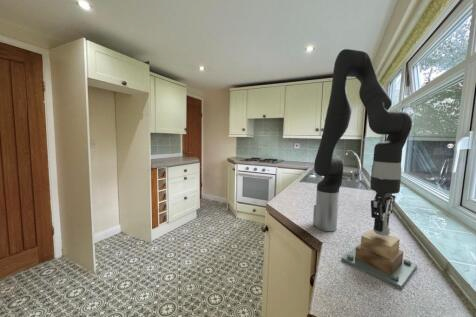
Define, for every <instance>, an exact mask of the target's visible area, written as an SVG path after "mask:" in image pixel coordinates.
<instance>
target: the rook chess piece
mask: <svg viewBox="0 0 476 317" xmlns="http://www.w3.org/2000/svg"><path fill="white" fill-rule="evenodd" d="M382 210H384V209H382ZM388 213H389V211H387V213H385V216H384V223H383V231H382V232H379V231H376V230H374V228H372V230H374V232H375V233H377V234H380V235H389V236H390V234H391V232H390V231H391V229H390V227H389V225H387V218H388V217H389V216H387V214H388ZM377 215H379V214H378V213H377Z"/></svg>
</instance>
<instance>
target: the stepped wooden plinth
mask: <svg viewBox="0 0 476 317" xmlns="http://www.w3.org/2000/svg"><path fill="white" fill-rule="evenodd" d="M360 237H361V239H360V244H358V245H357V246H355V248H356V253H355V259H357V260H359V261H361V262H363V263H365V264H368V265H370V266H372V267H374V268H376V269H379V270H381V271H383V272H385V273H387V274H390V275H391V274H393V273H394V272H395V271H396V270H397V269H398V268H399V266H400V265H401V264H402V261H403V258H404V251H403V250H401V249H399V248H400V238H398V237H395V236H392V235H390V234H389V235H380V234H377V233H375V232H374V230H373V229H370V230H368V231H367V232H366V233H363V234H362V235H361V236H360Z"/></svg>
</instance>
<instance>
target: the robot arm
mask: <svg viewBox="0 0 476 317" xmlns="http://www.w3.org/2000/svg"><path fill="white" fill-rule="evenodd" d="M334 61H335V62H334V65H333V73H332V83H331V89H330V96H329V101H328V105H327V106H328V107H327V110H326V115H325V119H324V126H323V130H322V133H321V134H322V135H321V137H320V138H321V139H320V143H319V147H318V149H317V153H316V156H315V159H314V164H313V167H314V172H315V173H316V175H317V176H319V177H323V179H322V180H321V181H319V182H318V183H317V185H316V198H315V204H314V206H313V219H312V225H313V226H314V225H315V226H316V227H315V226H314V227H315V228H316V229H318V228H319V230H320V229H321V231H324V232H335V231H336V230H337V229H338V228H337V227H338V215H339V213H338V212H339V197H340V196H339V193H340V189H341V186H342V182H343V174H344V161H343V159H342V158H341V157H340V156H338V155H334V151H335V148H336V146H337V145H338V144H337V143H338V142H339V140H340V139H341V138H342V137H343V135H344V134H345V133H346V131H347V129H348V128H349V124H350V121H351V116H352V106H351V101H350V99H349V96H348V93H347V80H348V77H351V78H355V79H357V80H358V81H359V82H360V86H359V92H358V95H359V99H360V101H361V103H362V105H363V106H364V108H365V110H366V115H367V121H368V126H369V128H370V130H371V132H373V133H375V134H377V135H387V137H386V139H384V140H385V141H382V142H377V143H376V144H375V145H374V148H373V158H372V160H373V161H372V165H371V173H370V174H371V176H370V187H369V188H370V190H371V191H374V192H376V193H375V196H374V198H373V200H372V199H371V201H370V211H371V212H370V213H371V214H370V215H371V218H372V219H374V224H373V229H374V230H376V231H379V232H382V231H383V223H384V216H385V213H387V211H389V213H388V214H387V216H388V218H387V225H388V226H389V224H390V217H391V215H392V214H393V212H394V211H393V210H394V206H395V200H396V195H394V194H399V193H400V192H401V183H402V182H401V181H402V170H403V169H402V157H403V149H404V147H405V144H406V142H407V140H408V137H409V136H410V133H411V130H412V126H413V121H412V117H411V116H410V114H409V113H408V112H406V111H397V110H395V111H394V110H391V111H389V109H390V108H391V107H392V105H393V102H392V99H391V97H390V96H389V94H388V93H387V91H386V90H385V88H384V87H383V85H382V84H381V82H380V80H379V78H378V75H377V73H376V71H375V68H374V65H373V62H372V59H371V57H370V55H369V54H368V52H365V51H362V50H356V49H349V48H344V49H342V50H341V51H339V53H338V55H337V56H336V59H335V60H334ZM382 209H384V210H382ZM378 214H379V215H378Z"/></svg>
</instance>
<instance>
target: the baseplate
mask: <svg viewBox="0 0 476 317" xmlns="http://www.w3.org/2000/svg"><path fill="white" fill-rule="evenodd" d="M355 253H356V247H355V248H353V249H352V250H350V251H348V252H347V253H346V254H344V255H343V256H341V258H340V259H341V261H342V262H344V263H346V264H348V265H350V266H352V267H354V268H356V269H359V270H360V271H363V272H365V273H366V274H368V275H370V276H373V277H375V278H377V279H378V280H381V281H382V282H385V283H387V284H389V285H391V286H393V287H395V288H397V289H399V290H402V289H403V287H404V285H405V284H406V283H407V282H408V281H409V279H410V278H411V277H412V275H413V273H414V272H415V271H416V269H417V268H418V264H417V263H414V262H412V261H410V260H408V259H403V261H402V264H401V265H400V266H399V268H398V269H397V270H396V271H395V272H394V273H393V274H391V275H390V274H387V273H385V272H383V271H381V270H379V269H376V268H374V267H372V266H370V265H368V264H365V263H363V262H361V261H359V260H357V259H355Z"/></svg>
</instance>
